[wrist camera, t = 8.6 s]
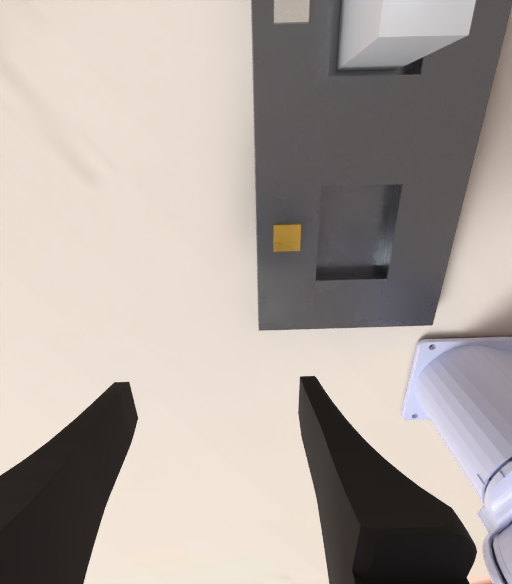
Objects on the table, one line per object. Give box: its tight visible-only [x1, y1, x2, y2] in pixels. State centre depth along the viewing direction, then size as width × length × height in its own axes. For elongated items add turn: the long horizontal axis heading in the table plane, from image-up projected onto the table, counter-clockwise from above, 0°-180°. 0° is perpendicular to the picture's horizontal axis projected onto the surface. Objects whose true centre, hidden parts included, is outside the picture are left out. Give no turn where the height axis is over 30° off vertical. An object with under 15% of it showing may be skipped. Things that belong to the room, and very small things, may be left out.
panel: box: [251, 0, 512, 330], centre depth 18 cm, size 12×24×2 cm, turn 1°
